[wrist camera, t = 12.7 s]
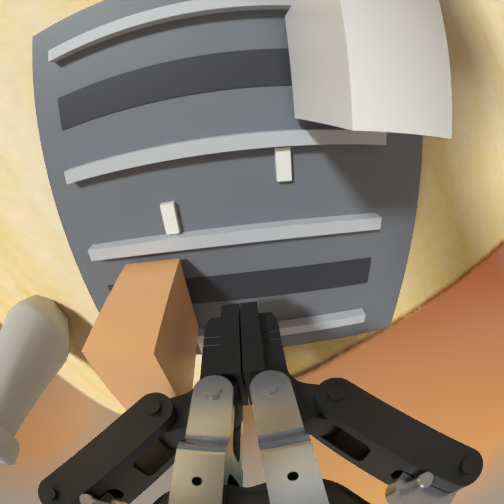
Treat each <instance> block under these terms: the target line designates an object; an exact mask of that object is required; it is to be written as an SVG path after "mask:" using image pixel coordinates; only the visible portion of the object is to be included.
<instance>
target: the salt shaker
mask: <svg viewBox="0 0 504 504" xmlns="http://www.w3.org/2000/svg"><path fill="white" fill-rule="evenodd" d="M69 350H70V342H69V329H68V317H67V316H66V315H65V313H64V312H63V311H62V310H61V309H60V308H59V306H58V305H57V304H56V303H55V302H54V300H51V299H48V298H44V297H42V296H39V295H34V296H32V297H29V298H27V299H25V300H23V301H21V302H19V303H17V304H16V305H15V306H13V307H12V308H11V309H10V310H9V312H8V314H7V317H6V319H5V321H4V324H3V326H2V328H1V331H0V463H2V464H5V465H8V466H9V465H14V464H15V462H16V460H17V458H18V455H19V450H20V448H19V442H18V441H17V440H16V439H15V438H14V436H15V434H16V433H17V431H18V429H19V428H20V426H21V425H22V423H23V422H24V420H25V418H26V417H27V415H28V414H29V412H30V411H31V409H32V408H33V406H34V405H35V403H36V402H37V400H38V399H39V398H40V396H41V395H42V393H43V392H44V390H45V389H46V388H47V386H48V385H49V383H50V382H51V381H52V379H53V378H54V376H55V375H56V374H57V372H58V371H59V370H60V368H61V367H62V366H63V364H64V363H65V362H66V360H67V357H68V354H69Z"/></svg>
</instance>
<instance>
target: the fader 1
mask: <svg viewBox="0 0 504 504" xmlns="http://www.w3.org/2000/svg"><path fill="white" fill-rule="evenodd" d="M198 330H199V326H198V323H197V319H196V316H195V313H194V309H193V306H192V302H191V299H190V295H189V291H188V288H187V284H186V280H185V277H184V273H183V269H182V265H181V261H180V258H178V259H169V260H160V261H151V262H142V263H133V264H126V265H125V266H124V268H123V270H122V272H121V274H120V275H119V277H118V279H117V281H116V283H115V284H114V286H113V288H112V290H111V292H110V294H109V296H108V297H107V299H106V301H105V303H104V305H103V307H102V309H101V311H100V313H99V315H98V317H97V319H96V321H95V323H94V325H93V327H92V329H91V331H90V334H89V336H88V338H87V340H86V342H85V344H84V347H83V349H82V351H81V352H82V353H83V355H84V356H85V358H86V359H87V361H88V362H89V364H90V365H91V366H92V368H93V369H94V370H95V372H96V373H97V375H98V376H99V377H100V379H101V380H102V381H103V382H104V384H105V385H106V386H107V388H108V389H109V390H110V391H111V393H112V394H113V395H114V396H115V397H116V399H117V400H118V401H119V402H120V403H121V405H122V406H123V407H124V408H125V409H126V410H128V409H129V408H130V407H131V406H133V405H134V404H135V403H136V402H137V401H138V400H139V399H141V398H142V397H143V396H145V395H146V394H149V393H154V392H158V393H162V394H165V395H166V396H168V397H169V398H172V397H176V396H179V395H182V394H185V393H188V392H189V391H191V390H192V389H193V378H194V367H195V357H196V348H197V339H198Z"/></svg>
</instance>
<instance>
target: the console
mask: <svg viewBox="0 0 504 504" xmlns="http://www.w3.org/2000/svg"><path fill="white" fill-rule="evenodd" d="M294 1H295V0H104V1H102V2H100V3H97V4H95V5H92V6H90V7H88V8H86V9H83V10H81V11H79V12H77V13H75V14H73V15H71V16H69V17H67V18H65V19H63V20H61V21H59V22H57V23H55V24H54V25H52V26H50V27H48V28H47V29H45V30H43V31H42V32H40V33H38V34H37V35H35V36H33V83H34V96H35V106H36V114H37V122H38V128H39V134H40V140H41V146H42V151H43V156H44V160H45V165H46V169H47V174H48V178H49V182H50V185H51V189H52V193H53V196H54V200H55V203H56V207H57V210H58V213H59V216H60V219H61V222H62V225H63V228H64V231H65V234H66V237H67V240H68V242H69V245H70V248H71V250H72V253H73V256H74V258H75V261H76V263H77V265H78V268H79V270H80V273H81V275H82V277H83V280H84V282H85V284H86V286H87V288H88V291H89V293H90V295H91V297H92V299H93V301H94V303H95V305H96V307H97V309H98V311H99V313H100V311H101V309H102V307H103V305H104V303H105V301H106V299H107V297H108V296H109V294H110V292H111V290H112V288H113V286H114V284H115V283H116V281H117V279H118V277H119V275H120V274H121V272H122V270H123V268H124V266H125V265H126V264H133V263H142V262H151V261H160V260H169V259H178V258H180V261H181V265H182V269H183V273H184V277H185V280H186V284H187V288H188V291H189V295H190V299H191V302H192V306H193V309H194V313H195V316H196V319H197V323H198V326H199V330H198V339H197V348H196V354H202V352H203V340H204V329H205V326H206V324H207V323H208V321H209V320H210V318H218V317H221V305H226V304H236V303H239V307H240V303H245V302H254V301H257V305H258V313H265V312H272V314H273V315H274V316H275V317H276V318H277V320H278V324H279V330H280V335H281V340H282V345H283V347H284V346H291V345H299V344H305V343H312V342H318V341H324V340H330V339H335V338H341V337H346V336H351V335H356V334H361V333H366V332H370V331H375V330H379V329H384V328H388V327H390V324H391V321H392V318H393V314H394V311H395V307H396V304H397V300H398V297H399V293H400V289H401V285H402V281H403V277H404V273H405V269H406V264H407V260H408V255H409V250H410V245H411V240H412V234H413V228H414V222H415V216H416V209H417V201H418V193H419V184H420V173H421V159H422V139H423V135H417V134H406V133H394V132H378V131H352V130H348V129H344V128H340V127H336V126H332V125H327V124H323V123H318V122H313V121H308V120H303V119H297V118H295V114H294V101H293V89H292V78H291V67H290V57H289V48H288V39H287V31H286V23H285V15H286V14H287V12H288V11H289V9H290V7H291V6H292V4H293V3H294Z"/></svg>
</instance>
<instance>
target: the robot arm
mask: <svg viewBox="0 0 504 504" xmlns="http://www.w3.org/2000/svg"><path fill="white" fill-rule="evenodd" d="M248 397H249V402H250V405H253V411H254V416H255V423H256V427H257V434H258V440H259V447H260V453H261V458H262V464H263V469H264V474H265V480H266V483H263V484H260V485H256V486H253V487H249V488H245V487H243V470H242V438H243V405H248ZM309 435H313V437H315V438H316V439H317V440H319V441H320V442H321V443H323V444H324V445H326V446H327V447H329V448H330V449H332V450H333V451H334V452H336V453H337V454H339V455H340V456H342V457H344V458H345V459H346V460H348V461H350V462H351V463H353V464H354V465H356V466H357V467H359V468H361V469H362V470H364V471H366V472H367V473H369V474H371V475H372V476H374V477H376V478H377V479H379V480H381V481H382V482H384V483H386V484H388V486H387V489H386V493H385V497H386V500H387V502H388V503H389V504H450V503H451V501H452V499H453V498H454V496H455V494H456V493H457V491H458V490H459V489H462V488H464V487H466V486H468V485H470V484H471V483H473V482H474V481H475V480H476V479H477V478H478V477H479V475H480V474H481V471H482V468H483V459H482V456H481V455H480V453H479V452H478V451H477V450H475V449H473V448H471V447H469V446H467V445H464V444H462V443H460V442H458V441H456V440H454V439H452V438H450V437H448V436H446V435H444V434H442V433H440V432H438V431H436V430H434V429H432V428H430V427H429V426H427V425H425V424H423V423H421V422H419V421H417V420H415V419H414V418H412V417H410V416H408V415H406V414H404V413H403V412H401V411H399V410H397V409H395V408H393V407H392V406H390V405H388V404H387V403H384V402H383V401H381V400H380V399H378V398H376V397H375V396H373V395H371V394H369V393H368V392H366V391H364V390H363V389H361V388H359V387H358V386H356V385H354V384H353V383H351V382H349V381H348V380H346V379H343V378H330V379H328V380H325V381H323V382H322V383H321V384H320V385H316V384H306V383H302V382H299V381H297V380H295V379H294V378H293V377H292V376H291V375H290V374H289V372H288V371H287V367H286V361H285V356H284V351H283V345H282V340H281V335H280V330H279V324H278V320H277V318H276V317H275V316H274V315H273V314H272V312H265V313H258V305H257V301H254V302H245V303H240V307H239V303H236V304H226V305H221V317H218V318H210V320H209V321H208V323H207V324H206V326H205V329H204V340H203V352H202V364H201V376H200V380H199V381H198V382H197V383H196V385H195V387H194V389H192V390H191V391H189V392H188V393H185V394H182V395H179V396H176V397H172V398H169V397H168V396H166V395H165V394H162V393H158V392H154V393H149V394H146V395H145V396H143V397H142V398H141V399H139V400H138V401H137V402H136V403H135V404H134V405H133V406H131V407H130V408H129V409H128V410H127V411H126V412H125V413H123V414H122V415H121V416H120V417H119V418H118V419H117V420H115V421H114V422H113V423H112V424H111V425H110V426H108V427H107V428H106V429H105V430H104V431H103V432H101V433H100V434H99V435H98V436H97V437H95V438H94V439H93V440H92V441H91V442H89V443H88V444H87V445H86V446H85V447H83V448H82V449H81V450H80V451H79V452H77V453H76V454H75V455H74V456H73V457H71V458H70V459H69V460H68V461H67V462H65V463H64V464H63V465H61V466H60V467H59V468H58V469H56V470H55V471H54V472H53V473H51V474H50V475H49V476H48V477H46V478H45V479H44V480H43V481H42V482H41V483H40V485H39V488H38V495H39V498H40V501H41V502H42V504H130V503H131V502H132V501H133V500H134V499H135V498H136V497H138V496H139V495H140V494H141V493H142V492H143V491H145V490H146V489H147V488H148V487H149V486H150V485H151V484H152V483H154V482H155V481H156V480H157V479H158V478H159V477H160V476H161V475H162V474H163V473H164V472H165V471H166V470H167V469H168V468H170V467H171V465H173V464H174V468H173V474H172V482H171V488H170V491H169V492H167V493H165V494H164V495H162V496H161V497H159V498H158V499H157V500H156V501H155V502H154V503H153V504H370V503H369V502H367V501H365V500H364V499H362V498H361V497H359V496H358V495H356V494H355V493H353V492H352V491H350V490H349V489H348V488H346V487H344V486H342V485H341V484H339V483H336V482H333V481H330V480H326V479H322V477H321V473H320V470H319V466H318V463H317V459H316V456H315V453H314V449H313V446H312V442H311V439H310V437H309Z"/></svg>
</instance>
